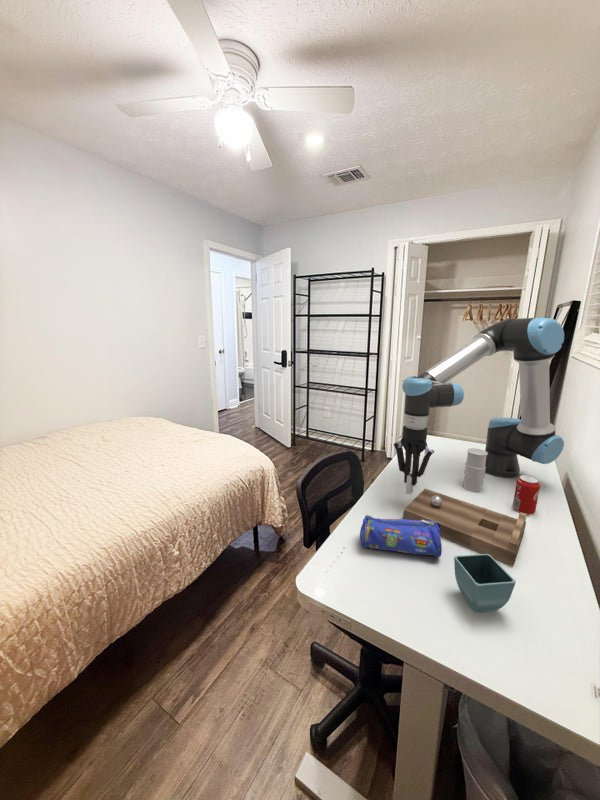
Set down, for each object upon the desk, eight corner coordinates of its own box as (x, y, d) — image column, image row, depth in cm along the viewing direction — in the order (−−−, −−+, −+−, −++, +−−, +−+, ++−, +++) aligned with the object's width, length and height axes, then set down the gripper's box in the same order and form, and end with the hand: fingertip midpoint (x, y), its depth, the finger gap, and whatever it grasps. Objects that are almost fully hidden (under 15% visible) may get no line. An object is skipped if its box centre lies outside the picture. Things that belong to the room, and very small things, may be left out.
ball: (432, 501, 105) (433, 492, 104) (443, 505, 103) (444, 495, 102) (428, 506, 102) (429, 496, 102) (439, 510, 100) (440, 500, 99)
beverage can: (538, 518, 103) (545, 484, 100) (517, 515, 104) (522, 482, 102) (529, 507, 109) (534, 475, 106) (508, 505, 110) (514, 473, 108)
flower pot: (448, 587, 75) (453, 555, 73) (484, 585, 76) (489, 553, 74) (471, 621, 67) (476, 585, 65) (510, 618, 68) (517, 582, 66)
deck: (424, 498, 115) (425, 482, 113) (523, 533, 95) (527, 514, 94) (402, 520, 102) (404, 502, 100) (513, 566, 82) (517, 544, 81)
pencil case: (437, 543, 91) (440, 513, 89) (445, 565, 83) (449, 532, 81) (359, 535, 95) (360, 506, 93) (359, 554, 87) (361, 523, 84)
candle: (463, 490, 120) (468, 453, 117) (461, 482, 126) (466, 447, 123) (483, 494, 118) (489, 456, 114) (481, 485, 124) (486, 449, 121)
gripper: (391, 424, 104) (386, 490, 110) (431, 433, 96) (424, 503, 101) (401, 420, 110) (396, 482, 115) (439, 427, 101) (432, 494, 107)
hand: (409, 492), depth 108 cm, fingers closed
